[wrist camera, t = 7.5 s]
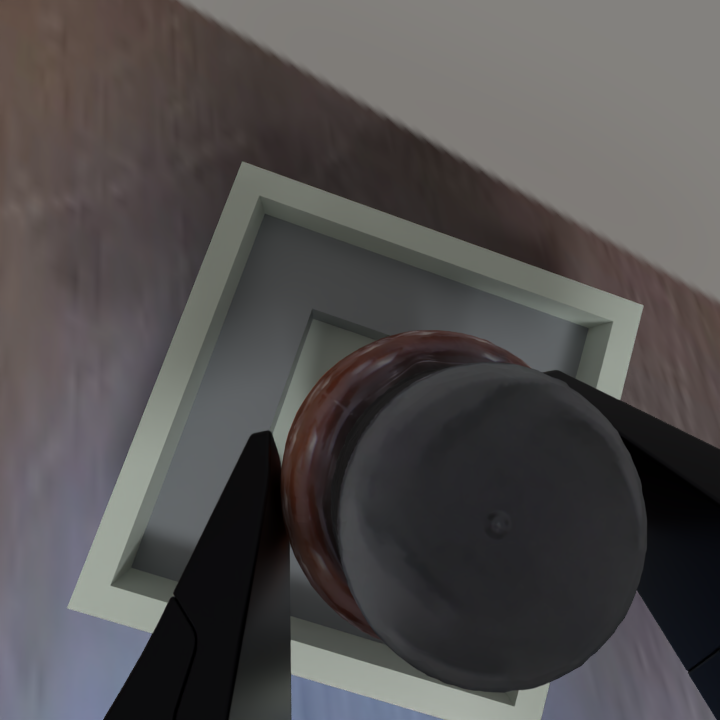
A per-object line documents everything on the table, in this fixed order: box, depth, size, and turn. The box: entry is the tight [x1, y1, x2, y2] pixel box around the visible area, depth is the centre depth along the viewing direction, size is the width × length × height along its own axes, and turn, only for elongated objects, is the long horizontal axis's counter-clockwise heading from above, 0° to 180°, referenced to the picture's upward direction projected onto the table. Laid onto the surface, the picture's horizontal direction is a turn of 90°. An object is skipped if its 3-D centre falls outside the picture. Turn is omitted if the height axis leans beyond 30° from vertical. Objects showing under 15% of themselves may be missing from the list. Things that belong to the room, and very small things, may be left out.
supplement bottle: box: [280, 330, 647, 693], centre depth 11 cm, size 6×6×11 cm
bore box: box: [67, 161, 644, 720], centre depth 17 cm, size 16×16×4 cm
